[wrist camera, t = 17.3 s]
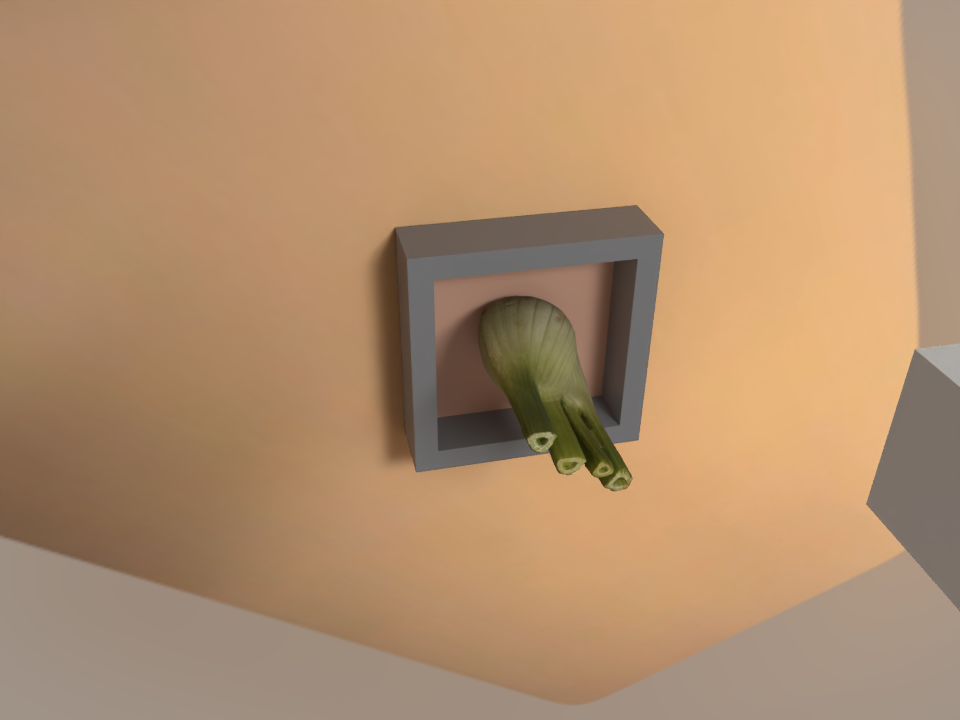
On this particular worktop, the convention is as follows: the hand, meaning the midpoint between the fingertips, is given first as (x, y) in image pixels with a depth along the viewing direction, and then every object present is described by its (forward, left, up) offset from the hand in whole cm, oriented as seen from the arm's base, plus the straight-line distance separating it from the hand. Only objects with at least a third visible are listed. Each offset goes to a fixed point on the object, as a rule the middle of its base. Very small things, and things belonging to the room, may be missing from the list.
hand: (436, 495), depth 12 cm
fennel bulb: (+10, -17, -31) cm, 37 cm away
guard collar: (+10, -17, -32) cm, 37 cm away
